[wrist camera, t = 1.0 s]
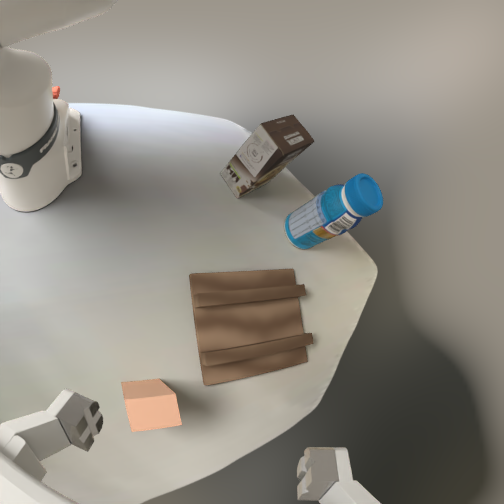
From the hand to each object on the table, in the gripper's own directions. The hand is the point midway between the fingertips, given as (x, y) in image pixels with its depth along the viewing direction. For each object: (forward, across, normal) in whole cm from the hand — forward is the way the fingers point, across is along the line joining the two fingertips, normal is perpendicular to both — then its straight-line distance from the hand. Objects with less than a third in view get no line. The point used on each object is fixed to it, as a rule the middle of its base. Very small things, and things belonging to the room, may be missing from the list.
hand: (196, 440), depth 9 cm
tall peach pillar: (+22, +13, +24) cm, 35 cm away
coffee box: (+52, +4, -7) cm, 53 cm away
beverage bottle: (+52, -8, +2) cm, 53 cm away
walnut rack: (+37, -1, +16) cm, 40 cm away
